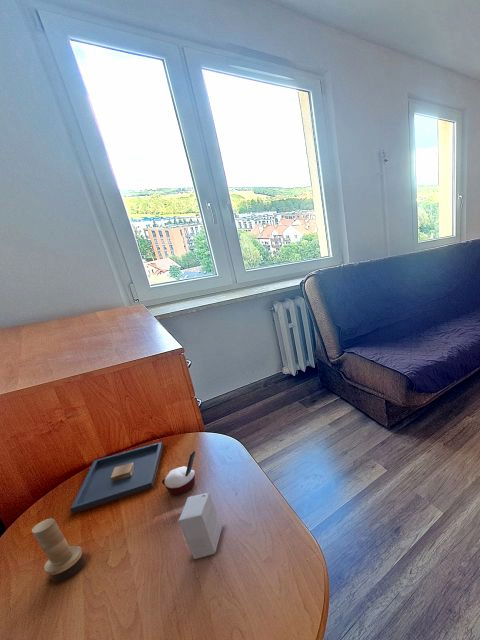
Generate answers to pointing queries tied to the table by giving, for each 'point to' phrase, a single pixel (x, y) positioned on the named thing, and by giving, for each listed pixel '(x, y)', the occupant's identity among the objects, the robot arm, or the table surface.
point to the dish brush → (58, 551)
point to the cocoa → (180, 478)
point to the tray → (104, 490)
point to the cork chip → (122, 472)
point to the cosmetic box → (200, 525)
